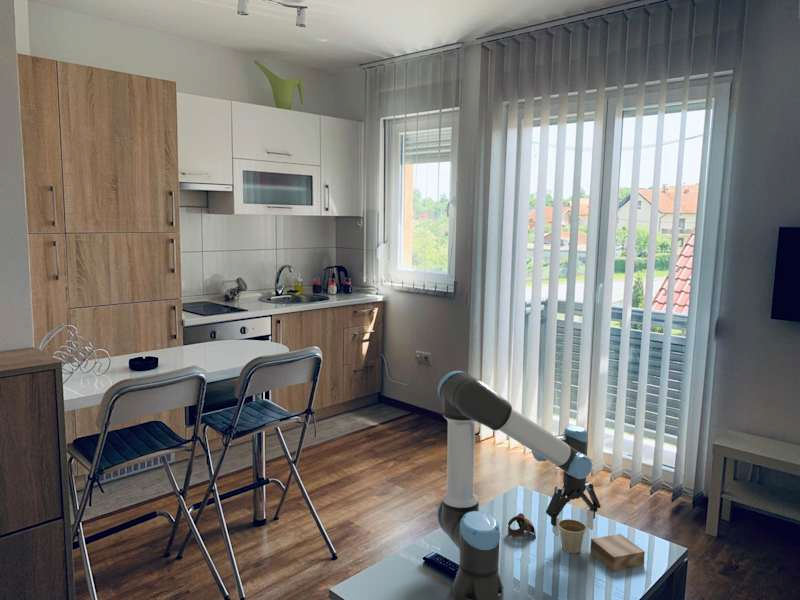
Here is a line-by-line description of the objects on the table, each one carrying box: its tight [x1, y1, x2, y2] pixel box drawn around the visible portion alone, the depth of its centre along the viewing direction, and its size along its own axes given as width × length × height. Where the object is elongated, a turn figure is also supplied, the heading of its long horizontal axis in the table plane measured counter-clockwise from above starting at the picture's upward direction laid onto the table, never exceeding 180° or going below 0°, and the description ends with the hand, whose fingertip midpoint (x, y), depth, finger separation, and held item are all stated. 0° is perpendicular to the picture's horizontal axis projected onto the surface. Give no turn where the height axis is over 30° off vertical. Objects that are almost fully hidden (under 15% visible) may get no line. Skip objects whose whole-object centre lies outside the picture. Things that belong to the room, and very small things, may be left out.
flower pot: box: [559, 518, 587, 554], centre depth 204 cm, size 9×9×9 cm
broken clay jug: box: [507, 512, 537, 539], centre depth 214 cm, size 12×10×8 cm
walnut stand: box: [590, 533, 645, 573], centre depth 199 cm, size 12×12×5 cm
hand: (572, 531), depth 204 cm, fingers open, 13 cm apart
